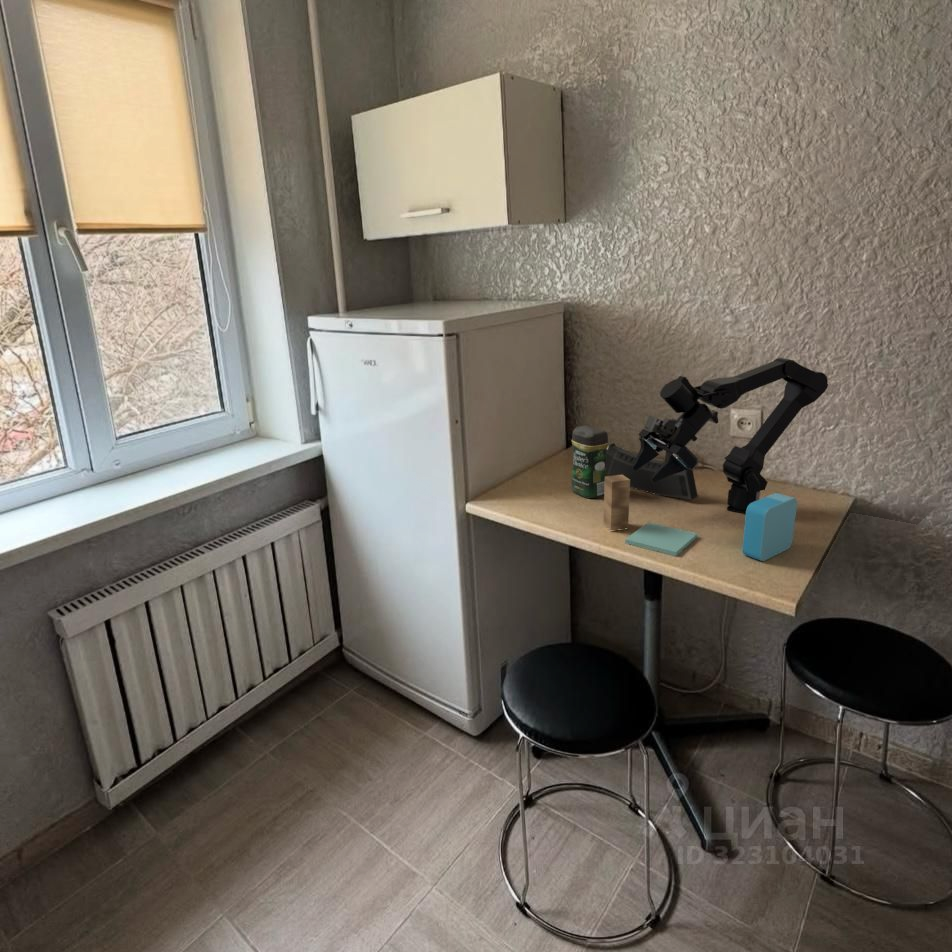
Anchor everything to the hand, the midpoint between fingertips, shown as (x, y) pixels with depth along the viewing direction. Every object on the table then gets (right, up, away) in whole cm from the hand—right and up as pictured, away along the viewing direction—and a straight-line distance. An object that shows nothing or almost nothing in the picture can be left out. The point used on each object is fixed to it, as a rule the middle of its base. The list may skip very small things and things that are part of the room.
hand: (642, 474), depth 155 cm
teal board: (+3, -15, -5) cm, 16 cm away
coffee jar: (-8, -5, +25) cm, 27 cm away
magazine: (+7, -4, +27) cm, 28 cm away
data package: (+24, -17, -13) cm, 32 cm away
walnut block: (-6, -13, +3) cm, 14 cm away
